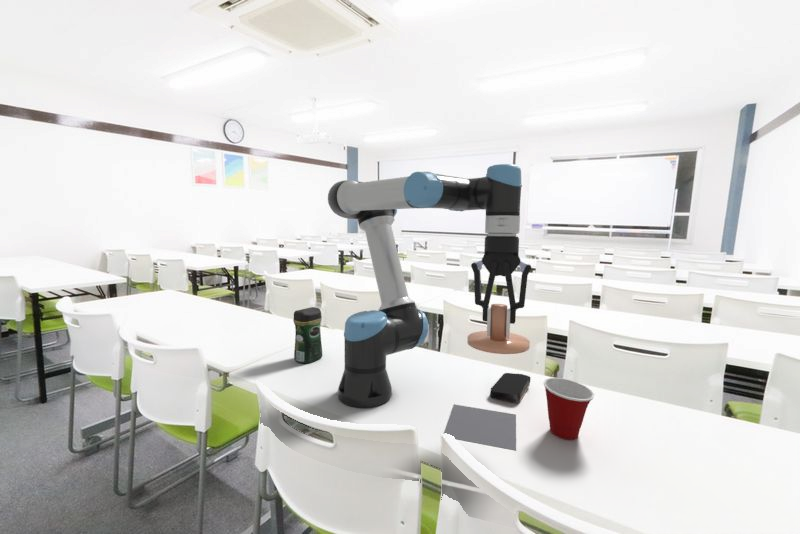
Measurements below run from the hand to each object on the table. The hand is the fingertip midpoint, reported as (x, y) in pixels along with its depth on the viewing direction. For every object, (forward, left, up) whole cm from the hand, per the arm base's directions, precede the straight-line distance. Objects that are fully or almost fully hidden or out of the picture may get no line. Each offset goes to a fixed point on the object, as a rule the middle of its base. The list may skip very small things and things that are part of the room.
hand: (498, 335), depth 85 cm
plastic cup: (+16, +3, -23) cm, 28 cm away
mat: (-3, 0, -23) cm, 23 cm away
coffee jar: (-66, +25, -23) cm, 74 cm away
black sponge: (+4, +22, -24) cm, 33 cm away
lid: (0, 0, -2) cm, 2 cm away
